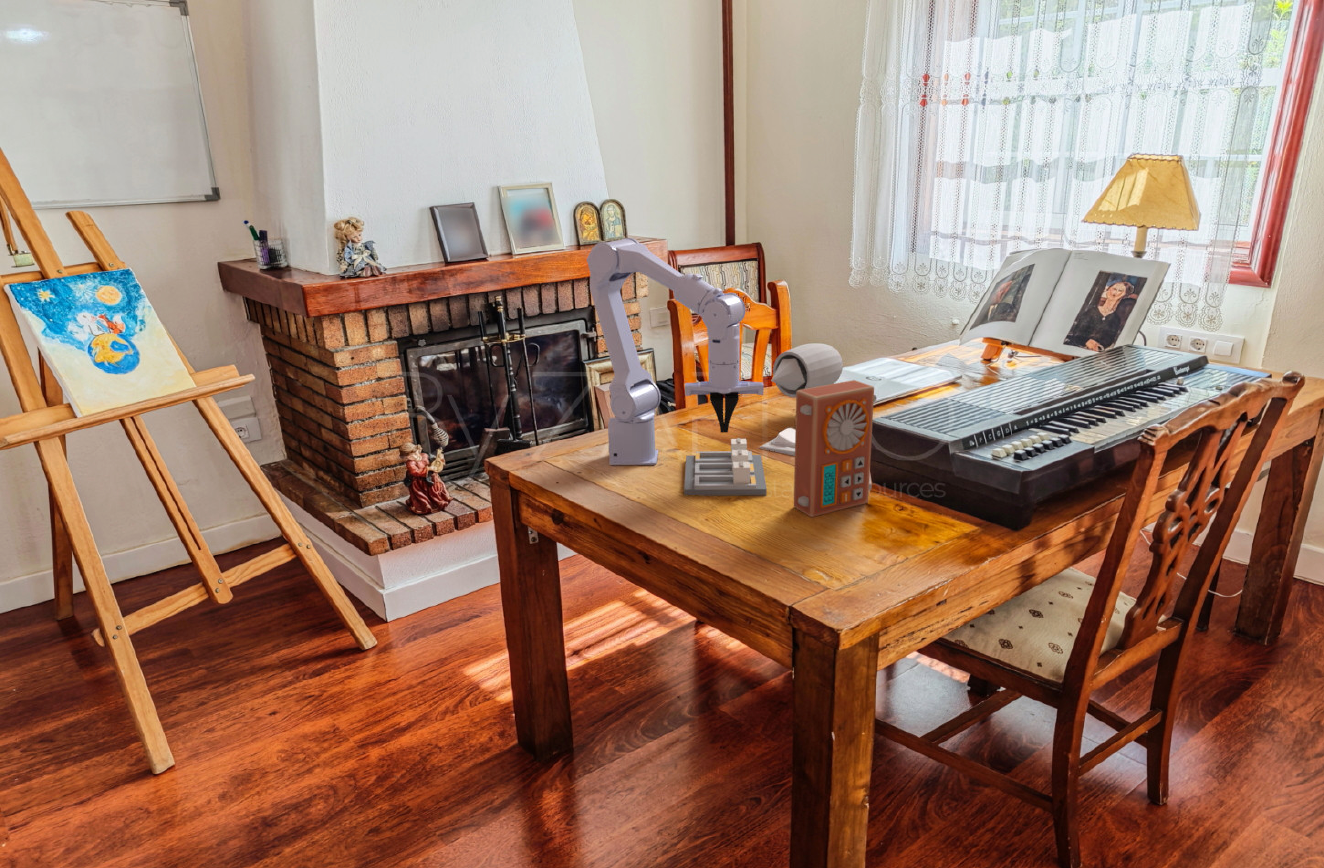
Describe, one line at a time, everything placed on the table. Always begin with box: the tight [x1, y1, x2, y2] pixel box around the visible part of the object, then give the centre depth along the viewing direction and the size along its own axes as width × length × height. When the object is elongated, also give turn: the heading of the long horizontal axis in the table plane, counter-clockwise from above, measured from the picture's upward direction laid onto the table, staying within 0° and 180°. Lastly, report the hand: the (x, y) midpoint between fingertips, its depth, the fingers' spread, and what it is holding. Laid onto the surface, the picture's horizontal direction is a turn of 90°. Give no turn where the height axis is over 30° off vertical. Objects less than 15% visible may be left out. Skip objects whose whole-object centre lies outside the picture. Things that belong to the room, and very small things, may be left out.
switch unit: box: [683, 450, 768, 496], centre depth 168 cm, size 15×18×2 cm
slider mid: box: [732, 449, 749, 471], centre depth 167 cm, size 3×3×4 cm
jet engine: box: [770, 342, 844, 399], centre depth 198 cm, size 15×20×18 cm
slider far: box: [730, 437, 748, 459], centre depth 173 cm, size 3×3×4 cm
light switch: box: [758, 427, 796, 457], centre depth 183 cm, size 11×4×13 cm
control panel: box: [793, 379, 877, 518], centre depth 151 cm, size 21×7×15 cm
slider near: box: [733, 461, 750, 484], centre depth 161 cm, size 3×3×4 cm
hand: (724, 430), depth 165 cm, fingers closed
